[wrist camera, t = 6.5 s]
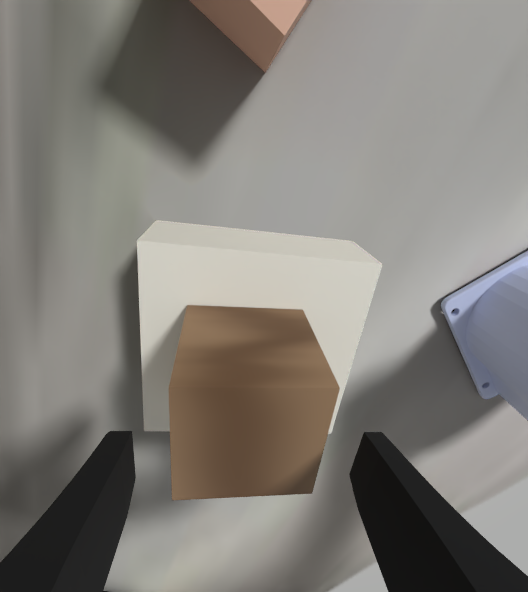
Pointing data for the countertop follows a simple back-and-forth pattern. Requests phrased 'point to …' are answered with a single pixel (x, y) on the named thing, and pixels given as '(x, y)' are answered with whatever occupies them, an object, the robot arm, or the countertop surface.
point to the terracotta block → (255, 24)
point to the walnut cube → (248, 403)
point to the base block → (246, 293)
